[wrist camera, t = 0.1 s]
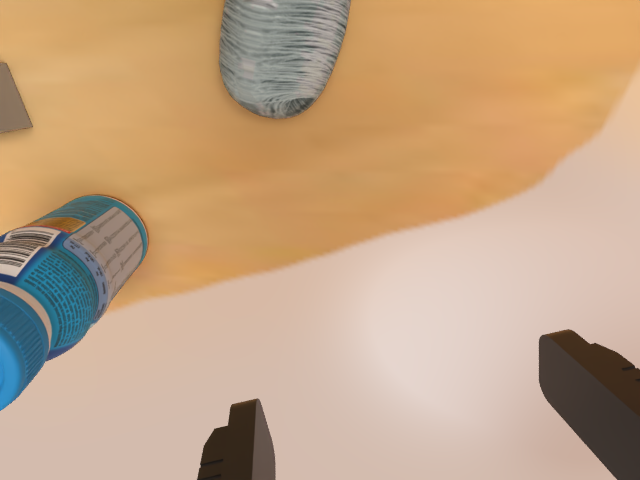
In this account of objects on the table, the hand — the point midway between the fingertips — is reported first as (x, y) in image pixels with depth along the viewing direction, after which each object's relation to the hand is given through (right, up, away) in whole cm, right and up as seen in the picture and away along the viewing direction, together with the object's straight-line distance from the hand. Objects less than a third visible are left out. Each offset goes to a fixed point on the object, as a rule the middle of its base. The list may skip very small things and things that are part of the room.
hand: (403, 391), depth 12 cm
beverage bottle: (-23, +5, +27) cm, 36 cm away
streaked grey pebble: (-6, +22, +23) cm, 32 cm away
